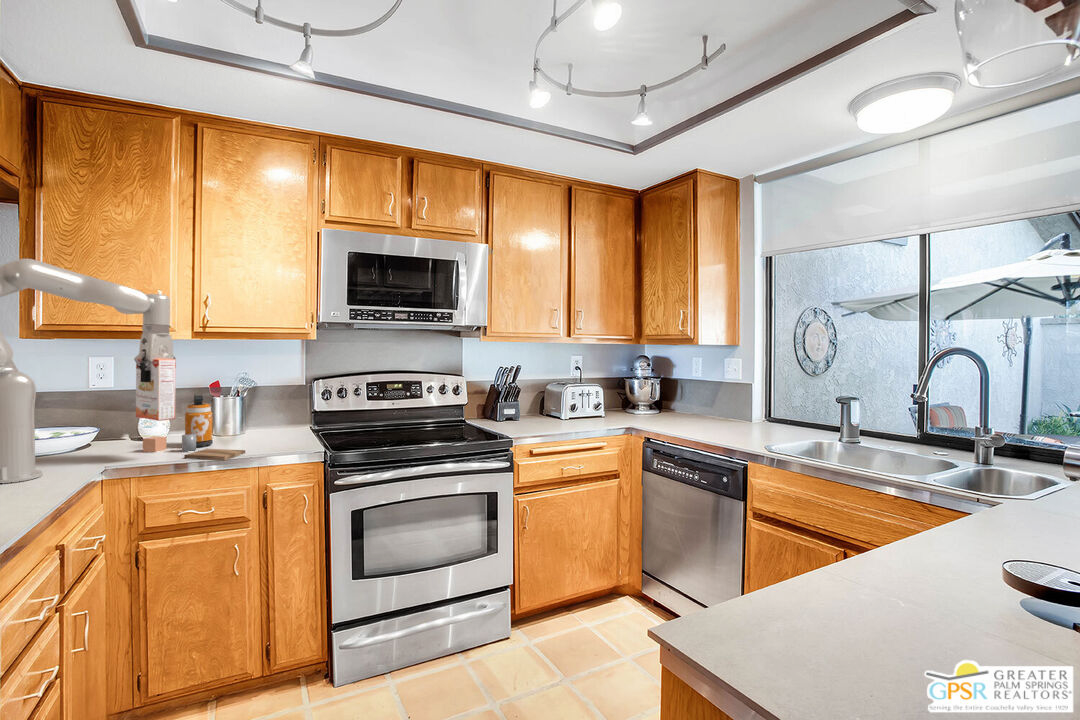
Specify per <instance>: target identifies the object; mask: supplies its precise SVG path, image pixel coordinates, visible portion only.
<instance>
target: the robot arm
mask: <svg viewBox="0 0 1080 720" xmlns="http://www.w3.org/2000/svg"><path fill="white" fill-rule="evenodd" d="M26 289H32V290H36V291H39V292H43V293H46V294H49V295H53V296H56V297H60V298H64V299H68V300H70V301H75V302H80V303H81V302H82V303H91V304H99V305H104V306H108V307H112V308H113V309H115V310H116V311H117V312H118V313H121V314H124V315H141V314H142V327H141V329H142V334H141V336H140V343H139V352H138V354H137V355H136V356H135V357H134V358H133V360H134V361H135V364H137V366H138V367H139V370H141V382H150V381H151V370H149V369H150V367H151V363H153V360H154V359H175V360H176V357H175V356H174V345H173V339H172V334H170V324H171V323H170V321H171V320H170V319H171V318H170V315H171V314H170V313H171V310H170V309H171V308H170V307H171V299H170V297H169V296H168V295H166V294H158V293H157V294H156V293H148V294H146V293H145V292H143V291H140V290H139V289H135V288H132V287H129V286H125V285H122V284H119V283H115V282H112V281H109V280H108V281H107V280H103V279H100V278H96V277H94V276H89V275H85V274H82V273H79V272H75V271H72V270H69V269H66V268H62V267H60V266H56V265H54V264H49V263H47V262H43V261H40V260H36V259H32V258H20V259H15V260H13V261H10V262H7V263H4V264H0V298H2V297H5V296H9V295H11V294H15V293H17V292H20V291H24V290H26ZM13 356H14V352H13V348H12V347H11V345H10V344H9V342H8V341H7V339H6V338H5V336H4V334H3V333H2V331H1V330H0V483H2V484H11V482H12V483H17V482H19V481H20V482H25V481H30V480H33V479H37V478H40V477H41V476H43V470H39V469H36V439H35V437H36V436H35V435H36V434H35V431H36V429H35V426H36V425H35V404H36V395H37V388H36V384H35V381H34V380H33V379H32V378H31V377H30V375H29V374H26V373H24V372H23V371H19V370H18V368H17V366H16V364H15V363H14V361H13ZM145 364H147V365H145ZM20 482H19V483H20Z"/></svg>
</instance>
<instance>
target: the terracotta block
mask: <svg viewBox="0 0 1080 720" xmlns="http://www.w3.org/2000/svg"><path fill="white" fill-rule="evenodd" d="M165 449H167V436H156V435H154V436H150V437H149V436H148V437H145V438H144V437H143V438H142V452H143V453H153V452H156V453H158V452H157V451H160V452H162V451H161V450H164V451H166V450H165Z"/></svg>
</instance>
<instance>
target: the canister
mask: <svg viewBox="0 0 1080 720" xmlns="http://www.w3.org/2000/svg"><path fill="white" fill-rule="evenodd" d="M203 401H204V396H203V395H202V393H200V394H198V395H197V394H194V397H193V400H192V401H189V402H186V405H187V406H186V413H185V414H184V435H185V434H196V448H202V447H201V446H205V447H208V446H210V445H212V444H213V442H214V441H213V437H214V435H213V412H212V408H211V407H212V406H211V404H209V403H203ZM207 445H208V446H207Z"/></svg>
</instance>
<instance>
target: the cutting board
mask: <svg viewBox="0 0 1080 720" xmlns="http://www.w3.org/2000/svg"><path fill="white" fill-rule="evenodd" d="M243 453H245V454H246V450H245V449H244V450H243V449H227V448H226V449H220V448H218V449H217V448H205V449H202V450H196V451H194V452H189V453H187V454H184V456H183V457H184V459H186V458H200V459H199V460H213V461H215V460H216V461H226V460H229V459H232V458H235V456H236V457H238V456H237V455H239V456H241V455H240V454H242V455H244V454H243Z"/></svg>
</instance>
